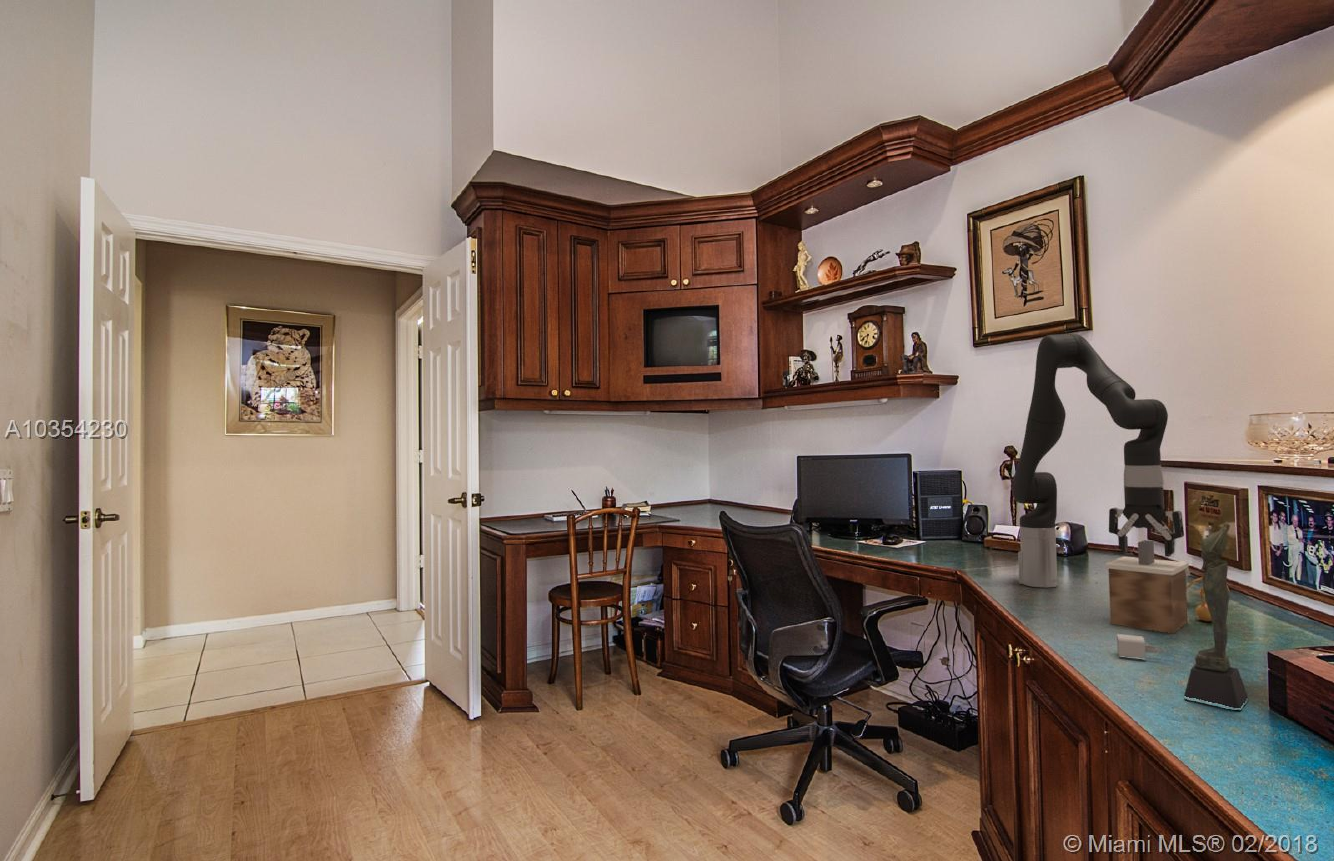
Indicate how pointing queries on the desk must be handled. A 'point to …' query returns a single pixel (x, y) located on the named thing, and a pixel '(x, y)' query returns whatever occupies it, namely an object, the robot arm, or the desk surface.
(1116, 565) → the lid
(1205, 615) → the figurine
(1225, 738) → the desk surface
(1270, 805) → the desk surface
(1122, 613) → the box
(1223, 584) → the statue
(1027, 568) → the robot arm
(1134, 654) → the usb wall charger
